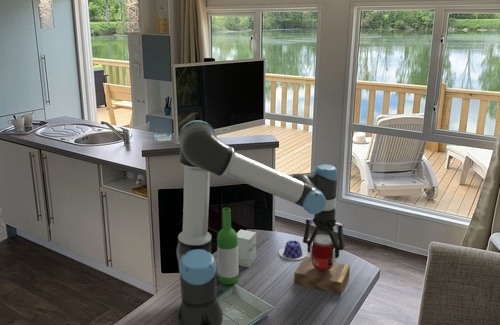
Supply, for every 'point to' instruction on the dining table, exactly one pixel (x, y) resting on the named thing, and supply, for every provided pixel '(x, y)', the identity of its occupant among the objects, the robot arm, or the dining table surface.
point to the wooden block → (322, 277)
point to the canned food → (322, 252)
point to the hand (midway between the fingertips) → (322, 262)
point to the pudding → (292, 251)
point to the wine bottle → (227, 251)
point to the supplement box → (246, 247)
